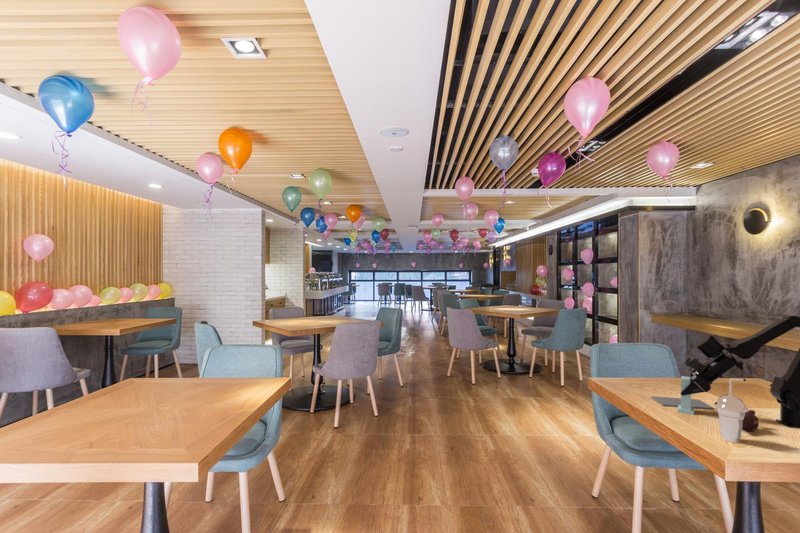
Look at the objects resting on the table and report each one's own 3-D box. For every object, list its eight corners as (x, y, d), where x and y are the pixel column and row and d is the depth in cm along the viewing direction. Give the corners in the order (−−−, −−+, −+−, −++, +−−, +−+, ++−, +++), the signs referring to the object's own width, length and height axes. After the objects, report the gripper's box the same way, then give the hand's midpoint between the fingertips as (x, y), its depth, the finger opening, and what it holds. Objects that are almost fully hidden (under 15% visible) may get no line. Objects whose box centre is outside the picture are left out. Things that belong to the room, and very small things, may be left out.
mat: (714, 409, 163) (714, 408, 163) (663, 405, 166) (663, 404, 166) (698, 400, 175) (698, 399, 175) (651, 397, 178) (651, 396, 178)
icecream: (755, 418, 133) (768, 414, 142) (728, 406, 139) (741, 403, 148) (748, 438, 134) (761, 433, 143) (721, 425, 140) (735, 421, 149)
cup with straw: (743, 437, 134) (743, 373, 134) (753, 447, 125) (753, 379, 126) (710, 433, 137) (710, 370, 138) (718, 442, 129) (718, 376, 130)
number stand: (694, 410, 162) (694, 377, 162) (694, 414, 156) (694, 380, 156) (678, 407, 165) (678, 375, 165) (677, 412, 159) (677, 378, 159)
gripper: (699, 346, 166) (665, 371, 172) (699, 353, 151) (662, 379, 157) (724, 369, 162) (688, 393, 168) (727, 378, 146) (688, 404, 152)
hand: (681, 392), depth 161 cm, fingers open, 8 cm apart
